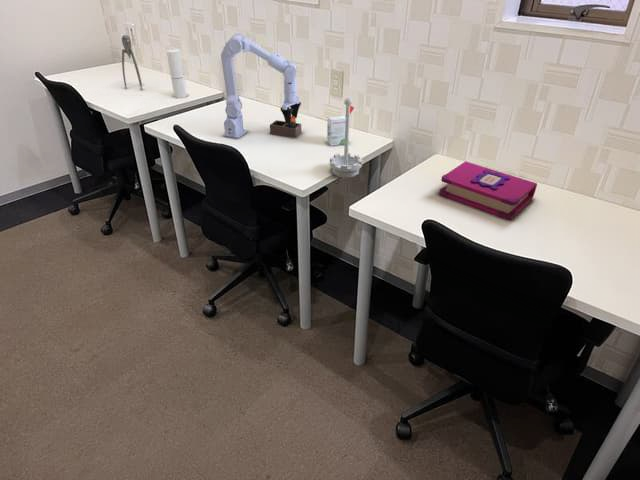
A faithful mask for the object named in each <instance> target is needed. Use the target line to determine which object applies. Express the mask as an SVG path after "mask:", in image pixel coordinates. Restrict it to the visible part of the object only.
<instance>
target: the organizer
mask: <svg viewBox="0 0 640 480" xmlns="http://www.w3.org/2000/svg"><path fill="white" fill-rule="evenodd" d="M269 134H270V135H274V136H281V137H286V138H287V137H288V138H295V139H296V138H297V137H298V136H300V135H301V134H302V123H300V122H296V127H295V128H291V127H287V123H286V122H285V120H279V119H276V120H274V121H273V122H271V123H269Z"/></svg>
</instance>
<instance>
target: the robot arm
mask: <svg viewBox="0 0 640 480" xmlns="http://www.w3.org/2000/svg"><path fill="white" fill-rule="evenodd" d="M241 52H243V53H252V54H254V55H256V56H257V57H259V58H261V59H263V60H265V61H266V62H267V65H268V66H269V67H270V68H272V69H274V70H276V71H277V72H279V73H280V74H282V76H283V78H284V79H283V94H284V96H283V97H284V100H283V102H282V103H283V104H282V105H281V107H280V112H281V113H282V115H283V119H284V121H285V122H286V123H290V122H291V116H294V117H296V119H297V118H298V115H299V109H300V107H301V105H302V102H301V101H300V97H299V96H298V87H297V86H298V85H297V84H298V83H297V71H298V69H297V66H296V64H295V63H294V62H292V61H290V60H288V59H287V60H286V58H284V57H282V56H281V54H279V53H275V52H274V53H270V52H269V51H267V50H266V49H264V48H262V46H260V45H258V44H257V43H256V42H254V40H251V39H250V38H249V37H247V36H244V35H242V34H241V33H235V34H233V35H232V36H231V37H230V38H229V39H228V40H227V41H226V43H225V44H224V47H223V49H222V51H221V53H220V61H221V67H222V73H223V80H224V86H225V94H226V98H225V99H226V101H225V105H226V106H225V109H224V110H225V114H226V119H225V120H224V122H223V128H224V134H223V137H228V138H233V139H239V138H241V137H242V136H243V135H245V134H246V133H248V130H246V129H245V128H244V118H243V112H242V108H243V103H242V101H241V99H240V95H239V93H238V88H237V87H238V86H237V79H236V73H235V67H234V66H235V65H234V59H233V58H234V57H235V56H236V55H237V54H239V53H241Z"/></svg>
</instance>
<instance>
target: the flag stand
mask: <svg viewBox="0 0 640 480" xmlns="http://www.w3.org/2000/svg"><path fill="white" fill-rule="evenodd" d="M343 103H344V105H345V117H346V122H345V144H344V150H343V151H344V153H343V155H341V154H340V153H339V152H337V153H334V154H333V156H329V167H330V168H331V173H332V174H333V175H335V176H337V177H340V178H353V177H356V176H357V175H359V173H360V169H361V168H362V166H363V158H361V156H360V155H359V154H354V155H351V152H349V141H350V120H351V119H350V118H351V114H352V112H353V111H354V109H355V107H354V106H353V105H352V104H353V99H352V97H346V98H345V99H344V102H343Z"/></svg>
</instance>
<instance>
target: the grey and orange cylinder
mask: <svg viewBox="0 0 640 480" xmlns="http://www.w3.org/2000/svg"><path fill="white" fill-rule="evenodd" d="M296 119H297V118H296V117H294V116H292V115H291V122H290V123H287V127H291V128H295V127H296V123H297V120H296Z"/></svg>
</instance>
